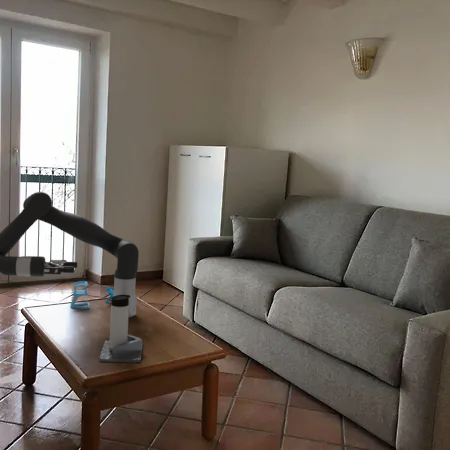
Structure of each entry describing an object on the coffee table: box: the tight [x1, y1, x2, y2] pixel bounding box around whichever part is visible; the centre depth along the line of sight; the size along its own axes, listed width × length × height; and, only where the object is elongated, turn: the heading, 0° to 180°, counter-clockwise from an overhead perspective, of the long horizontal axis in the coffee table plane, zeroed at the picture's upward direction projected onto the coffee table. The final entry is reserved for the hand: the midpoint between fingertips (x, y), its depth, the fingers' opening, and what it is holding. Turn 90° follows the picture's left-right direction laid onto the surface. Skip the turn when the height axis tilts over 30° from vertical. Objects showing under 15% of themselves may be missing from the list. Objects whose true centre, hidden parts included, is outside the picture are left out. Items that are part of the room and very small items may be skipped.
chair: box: [69, 280, 90, 310], centre depth 237 cm, size 8×8×12 cm
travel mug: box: [109, 295, 130, 352], centre depth 185 cm, size 6×7×20 cm
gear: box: [105, 286, 114, 303], centre depth 248 cm, size 11×6×10 cm
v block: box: [98, 333, 144, 363], centre depth 186 cm, size 14×18×5 cm
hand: (75, 267), depth 195 cm, fingers open, 8 cm apart
